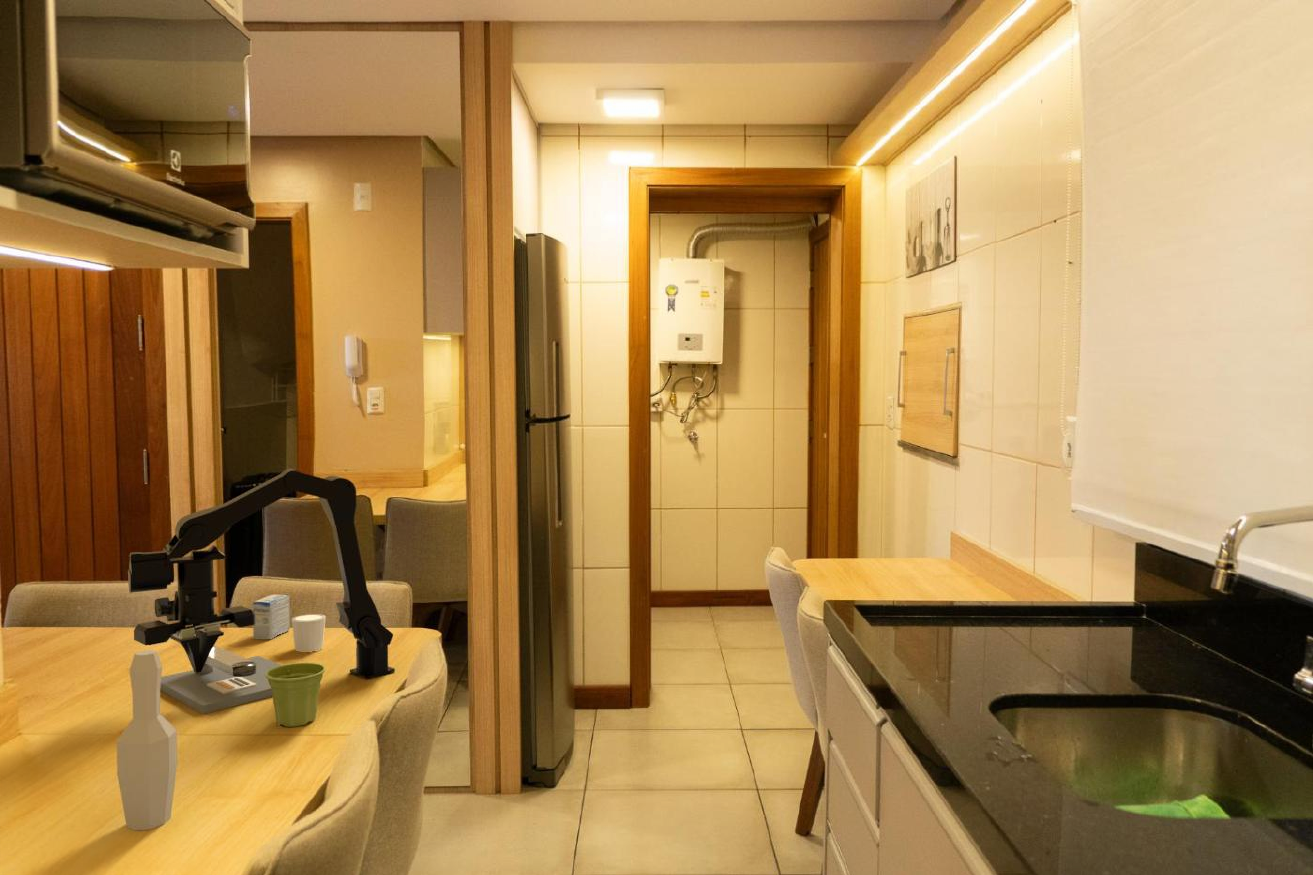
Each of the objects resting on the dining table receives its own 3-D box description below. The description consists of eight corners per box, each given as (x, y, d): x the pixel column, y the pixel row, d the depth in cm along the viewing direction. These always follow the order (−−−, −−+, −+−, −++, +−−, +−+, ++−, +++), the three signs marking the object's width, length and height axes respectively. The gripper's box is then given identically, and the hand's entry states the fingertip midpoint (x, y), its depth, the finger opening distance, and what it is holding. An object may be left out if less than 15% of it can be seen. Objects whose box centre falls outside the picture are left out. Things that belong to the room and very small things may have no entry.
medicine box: (272, 630, 207) (272, 594, 206) (290, 631, 206) (289, 594, 206) (252, 639, 199) (252, 601, 198) (271, 640, 198) (270, 602, 198)
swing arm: (189, 660, 169) (188, 639, 169) (210, 655, 172) (210, 635, 172) (237, 683, 156) (237, 661, 156) (260, 678, 159) (260, 656, 159)
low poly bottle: (107, 831, 110) (104, 658, 109) (146, 808, 117) (143, 644, 116) (151, 836, 109) (148, 661, 108) (188, 813, 115) (185, 647, 114)
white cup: (318, 653, 188) (318, 621, 188) (286, 653, 188) (286, 621, 188) (330, 644, 195) (330, 613, 194) (300, 644, 195) (299, 613, 195)
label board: (312, 685, 167) (312, 667, 167) (203, 714, 152) (202, 694, 151) (258, 663, 181) (258, 646, 181) (153, 686, 166) (153, 668, 166)
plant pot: (266, 715, 151) (266, 665, 151) (325, 708, 155) (324, 659, 154) (264, 734, 143) (264, 681, 142) (326, 726, 146) (326, 675, 146)
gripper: (229, 572, 169) (230, 652, 170) (121, 587, 155) (123, 675, 155) (256, 579, 162) (257, 663, 162) (145, 597, 148) (147, 688, 148)
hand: (197, 672), depth 157 cm, fingers closed
